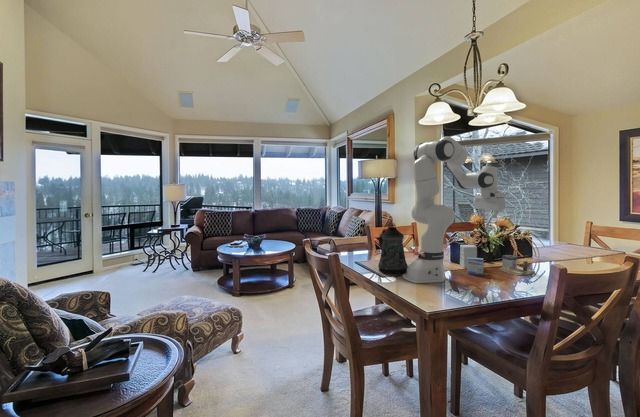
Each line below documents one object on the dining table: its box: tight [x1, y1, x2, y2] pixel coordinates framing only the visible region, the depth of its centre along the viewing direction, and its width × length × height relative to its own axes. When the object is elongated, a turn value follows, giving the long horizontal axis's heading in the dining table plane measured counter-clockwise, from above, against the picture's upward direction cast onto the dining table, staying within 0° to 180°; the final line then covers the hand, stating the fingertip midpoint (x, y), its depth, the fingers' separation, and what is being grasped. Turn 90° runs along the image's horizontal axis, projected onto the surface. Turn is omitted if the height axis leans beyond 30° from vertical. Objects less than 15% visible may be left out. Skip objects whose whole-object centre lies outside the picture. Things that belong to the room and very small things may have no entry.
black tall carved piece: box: [377, 226, 409, 276], centre depth 187 cm, size 16×19×25 cm
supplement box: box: [459, 244, 478, 269], centre depth 192 cm, size 7×7×13 cm
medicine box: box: [466, 257, 485, 276], centre depth 178 cm, size 8×4×9 cm, turn 62°
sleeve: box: [501, 254, 518, 270], centre depth 183 cm, size 5×5×7 cm
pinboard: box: [498, 260, 536, 276], centre depth 181 cm, size 12×12×6 cm
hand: (488, 217), depth 192 cm, fingers open, 8 cm apart
